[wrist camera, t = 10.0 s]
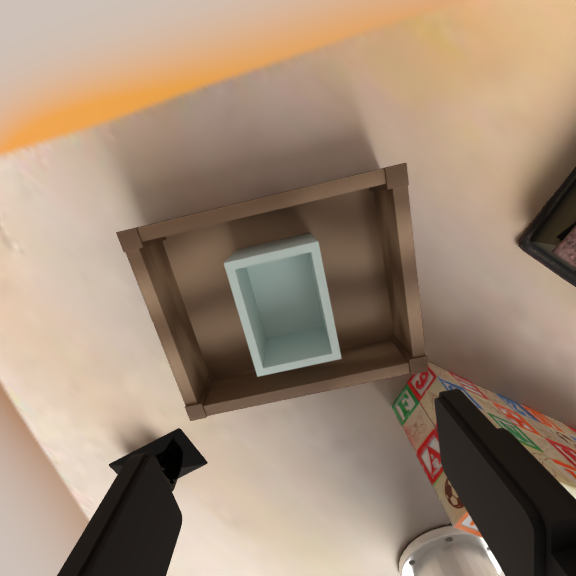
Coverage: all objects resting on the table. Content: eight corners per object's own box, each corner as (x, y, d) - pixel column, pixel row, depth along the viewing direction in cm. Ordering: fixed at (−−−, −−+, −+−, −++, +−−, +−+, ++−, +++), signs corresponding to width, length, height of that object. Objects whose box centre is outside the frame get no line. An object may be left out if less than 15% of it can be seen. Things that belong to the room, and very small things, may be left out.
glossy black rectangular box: (188, 412, 31) (173, 447, 27) (226, 459, 33) (218, 498, 29) (96, 461, 33) (68, 501, 29) (138, 503, 35) (118, 546, 31)
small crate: (330, 328, 28) (341, 358, 22) (262, 343, 28) (257, 376, 23) (310, 232, 25) (318, 241, 20) (235, 249, 25) (223, 263, 20)
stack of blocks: (584, 430, 33) (754, 560, 21) (547, 471, 34) (686, 613, 23) (421, 358, 30) (513, 463, 18) (388, 406, 31) (454, 532, 19)
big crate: (402, 341, 29) (428, 371, 24) (205, 383, 30) (190, 420, 25) (380, 170, 24) (406, 162, 19) (148, 225, 25) (116, 232, 20)
